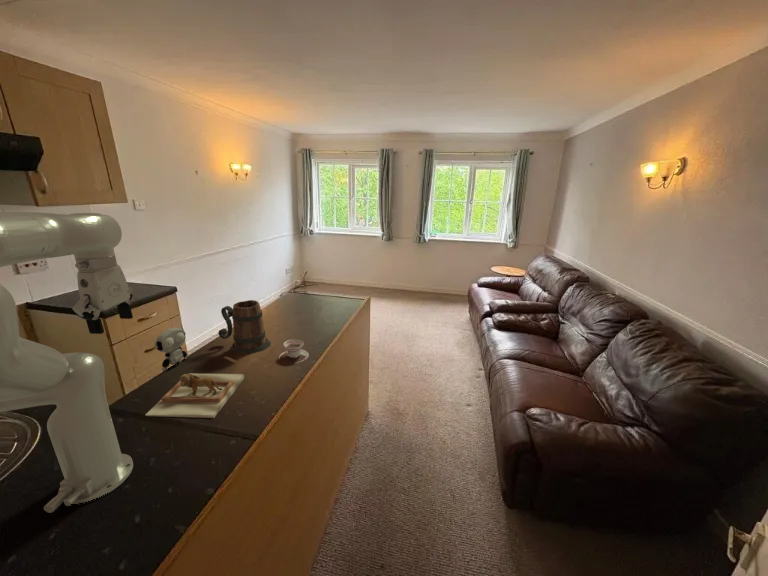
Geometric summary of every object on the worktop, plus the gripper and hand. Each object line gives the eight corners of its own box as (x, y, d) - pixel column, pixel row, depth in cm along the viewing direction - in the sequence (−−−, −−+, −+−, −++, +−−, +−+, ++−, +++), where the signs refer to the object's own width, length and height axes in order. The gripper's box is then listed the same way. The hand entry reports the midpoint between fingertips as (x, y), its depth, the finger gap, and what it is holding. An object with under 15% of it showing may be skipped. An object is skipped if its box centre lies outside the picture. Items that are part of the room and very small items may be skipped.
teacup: (314, 355, 132) (314, 342, 130) (293, 367, 122) (292, 353, 120) (294, 347, 137) (293, 334, 136) (272, 359, 128) (271, 345, 126)
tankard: (278, 340, 143) (275, 299, 137) (256, 358, 127) (251, 313, 122) (234, 334, 148) (229, 294, 142) (207, 350, 132) (200, 307, 126)
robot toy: (167, 374, 115) (160, 337, 110) (158, 372, 116) (150, 336, 111) (194, 358, 126) (189, 324, 122) (185, 356, 127) (179, 323, 123)
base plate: (214, 419, 93) (213, 411, 92) (146, 419, 92) (144, 411, 92) (244, 377, 114) (243, 371, 113) (188, 377, 114) (187, 370, 113)
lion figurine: (180, 398, 100) (176, 378, 97) (185, 390, 104) (181, 371, 101) (221, 394, 102) (218, 374, 100) (224, 386, 106) (221, 367, 104)
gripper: (81, 271, 70) (99, 340, 75) (137, 256, 87) (149, 313, 92) (47, 271, 70) (67, 339, 75) (110, 256, 87) (123, 313, 92)
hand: (112, 325), depth 84 cm, fingers open, 9 cm apart
